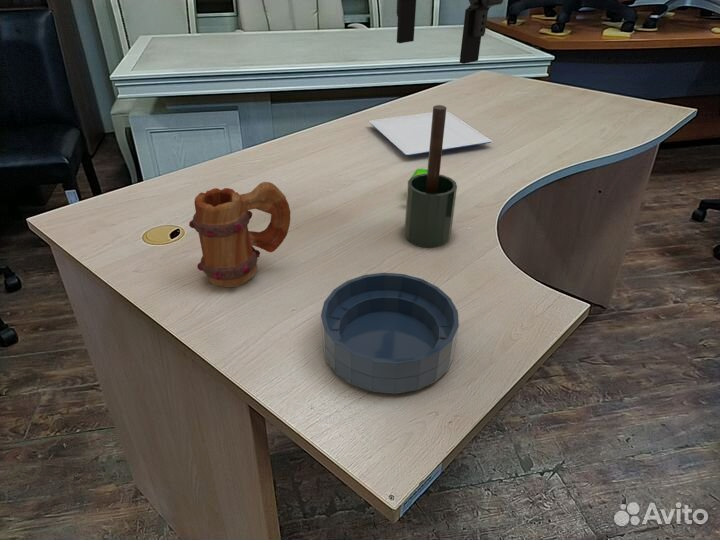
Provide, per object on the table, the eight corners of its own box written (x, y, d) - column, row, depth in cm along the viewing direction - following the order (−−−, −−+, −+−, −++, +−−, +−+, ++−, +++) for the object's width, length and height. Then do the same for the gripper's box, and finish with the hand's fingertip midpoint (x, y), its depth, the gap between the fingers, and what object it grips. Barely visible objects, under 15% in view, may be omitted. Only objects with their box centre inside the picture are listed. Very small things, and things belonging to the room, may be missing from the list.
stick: (434, 230, 93) (448, 106, 80) (431, 235, 91) (444, 110, 79) (424, 227, 94) (435, 104, 81) (420, 232, 92) (431, 108, 79)
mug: (202, 298, 78) (184, 209, 69) (198, 268, 84) (180, 183, 76) (299, 281, 82) (293, 194, 73) (288, 253, 88) (281, 170, 79)
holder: (455, 229, 95) (462, 178, 89) (442, 252, 89) (448, 199, 83) (413, 220, 97) (417, 170, 91) (398, 241, 91) (401, 189, 85)
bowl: (467, 325, 74) (473, 292, 70) (429, 416, 61) (434, 381, 57) (355, 293, 79) (355, 261, 76) (299, 371, 67) (296, 336, 63)
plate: (491, 148, 124) (493, 140, 123) (405, 162, 118) (406, 153, 116) (445, 117, 141) (446, 109, 140) (368, 127, 135) (368, 120, 133)
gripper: (365, -135, 69) (363, 37, 82) (509, -141, 53) (479, 76, 65) (409, -133, 73) (401, 31, 85) (557, -138, 56) (520, 67, 69)
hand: (435, 51), depth 75 cm, fingers open, 13 cm apart
